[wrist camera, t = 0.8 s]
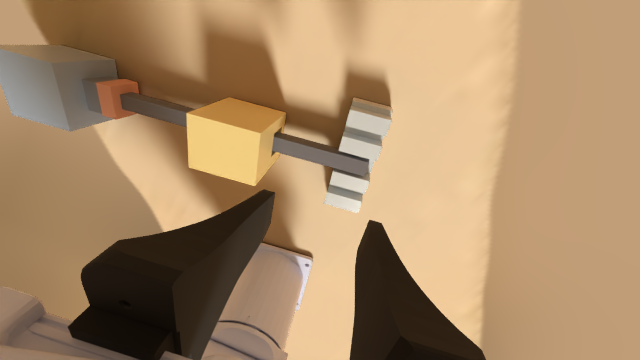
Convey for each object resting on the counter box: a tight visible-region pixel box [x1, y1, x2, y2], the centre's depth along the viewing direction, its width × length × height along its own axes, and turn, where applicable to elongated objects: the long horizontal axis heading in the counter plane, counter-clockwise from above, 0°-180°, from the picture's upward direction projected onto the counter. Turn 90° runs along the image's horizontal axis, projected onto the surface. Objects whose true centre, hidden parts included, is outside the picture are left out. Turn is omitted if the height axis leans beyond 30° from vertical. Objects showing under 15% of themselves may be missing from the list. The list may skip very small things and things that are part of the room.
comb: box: [324, 97, 392, 213], centre depth 21 cm, size 9×3×3 cm, turn 168°
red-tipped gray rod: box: [96, 79, 369, 177], centre depth 21 cm, size 23×3×3 cm, turn 77°
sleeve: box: [186, 97, 286, 186], centre depth 20 cm, size 4×5×6 cm
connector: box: [0, 45, 119, 131], centre depth 21 cm, size 5×7×5 cm
